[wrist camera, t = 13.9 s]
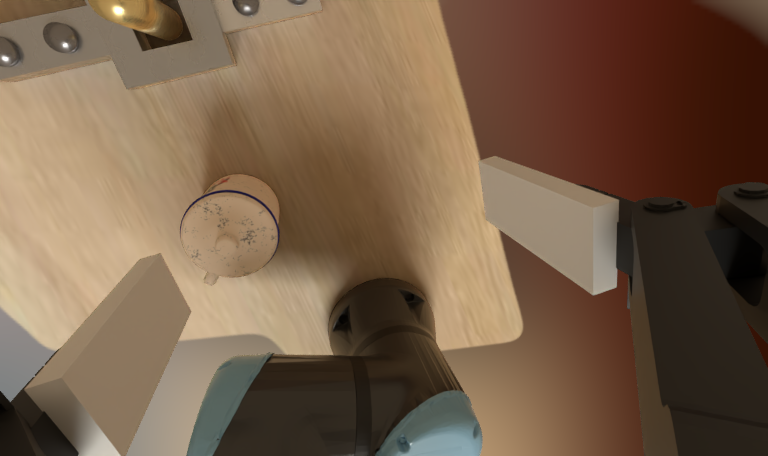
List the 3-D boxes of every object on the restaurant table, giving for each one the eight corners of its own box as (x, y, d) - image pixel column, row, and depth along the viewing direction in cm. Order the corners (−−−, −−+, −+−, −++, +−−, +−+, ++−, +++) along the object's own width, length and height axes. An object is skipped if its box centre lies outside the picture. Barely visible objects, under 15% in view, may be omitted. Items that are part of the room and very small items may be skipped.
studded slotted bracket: (329, 43, 40) (332, 39, 37) (34, 113, 37) (8, 116, 33) (300, -69, 36) (301, -84, 33) (-33, -2, 33) (-70, -12, 30)
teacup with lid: (218, 157, 42) (192, 182, 31) (294, 191, 45) (294, 224, 34) (179, 247, 44) (143, 298, 34) (254, 274, 48) (242, 328, 37)
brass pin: (188, 36, 37) (144, 17, 26) (157, 43, 37) (99, 26, 26) (174, 2, 36) (123, -33, 25) (142, 9, 36) (76, -24, 25)
